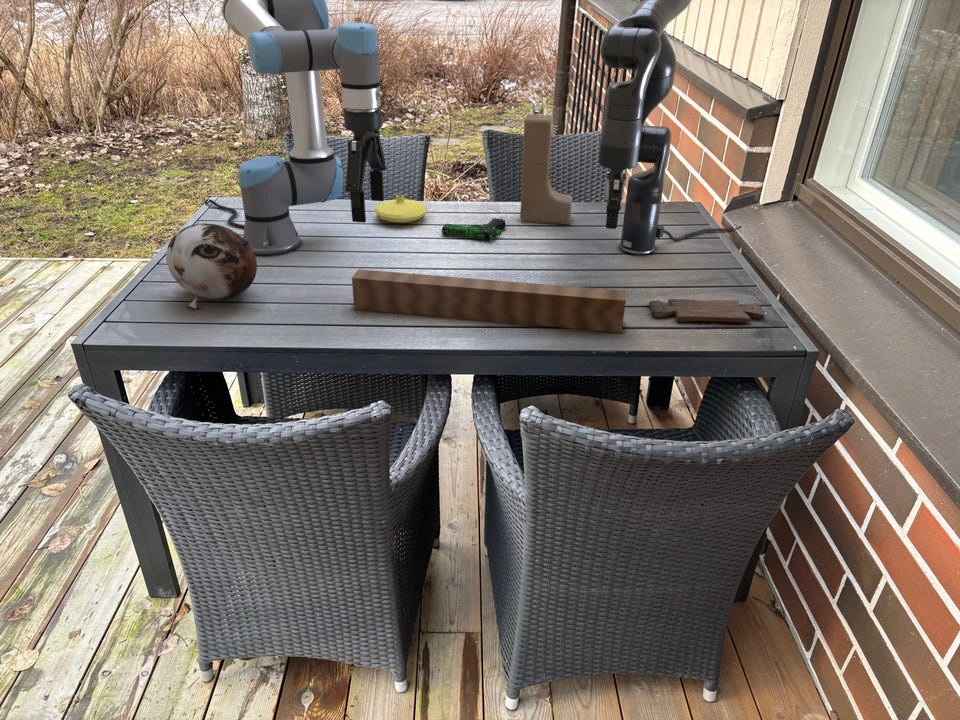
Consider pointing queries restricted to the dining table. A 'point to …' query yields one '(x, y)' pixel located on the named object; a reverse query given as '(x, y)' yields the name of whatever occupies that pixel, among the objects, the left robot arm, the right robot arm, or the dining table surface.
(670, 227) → the dining table surface
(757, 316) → the dark wooden board
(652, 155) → the right robot arm
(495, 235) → the handgun
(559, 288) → the beam
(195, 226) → the cat face balloon
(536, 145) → the decorative block
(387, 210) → the yellow round flat dome
